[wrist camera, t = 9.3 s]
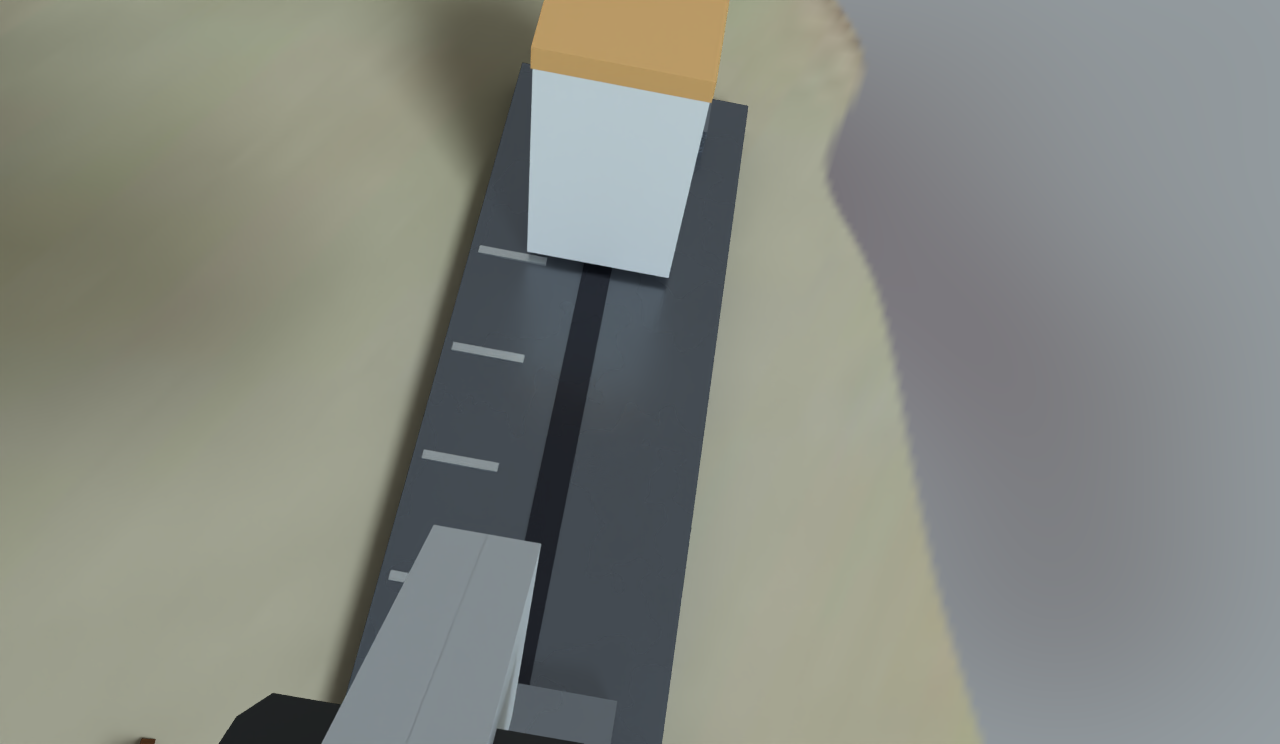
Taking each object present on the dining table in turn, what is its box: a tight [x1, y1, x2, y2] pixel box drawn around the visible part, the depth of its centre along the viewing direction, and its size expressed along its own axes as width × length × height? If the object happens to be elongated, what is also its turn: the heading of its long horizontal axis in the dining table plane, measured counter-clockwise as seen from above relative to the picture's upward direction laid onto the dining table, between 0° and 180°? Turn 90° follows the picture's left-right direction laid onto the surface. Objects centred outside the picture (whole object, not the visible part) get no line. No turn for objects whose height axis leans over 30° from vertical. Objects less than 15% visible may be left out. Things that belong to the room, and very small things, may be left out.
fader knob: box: [527, 0, 729, 278], centre depth 35 cm, size 4×5×10 cm
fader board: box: [345, 63, 748, 744], centre depth 36 cm, size 26×9×2 cm, turn 171°
